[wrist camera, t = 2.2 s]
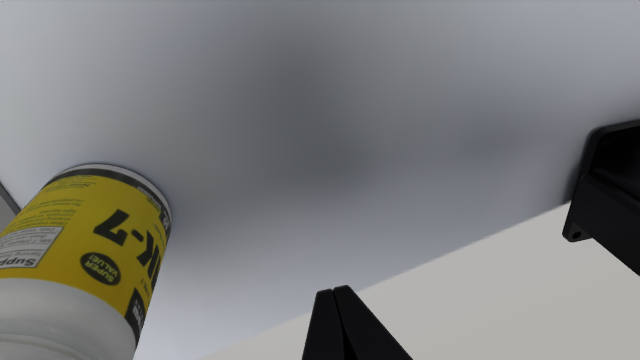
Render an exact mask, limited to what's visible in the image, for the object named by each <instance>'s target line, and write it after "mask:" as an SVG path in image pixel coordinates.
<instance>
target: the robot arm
mask: <svg viewBox="0 0 640 360" xmlns="http://www.w3.org/2000/svg"><path fill="white" fill-rule="evenodd" d="M562 235H563V237H564V238H565V239H567V240H568V241H569V242H577V241H582V240H586V239H590V238H593V239H595V240H596V241H597V242H598V243H600V244H601V245H602V246H603V247H604V248H606V249H607V250H608V251H609V252H610V253H612V254H613V255H614V256H615V257H617V258H618V259H619V260H620V261H621V262H623V263H624V264H625V265H626V266H627V267H629V268H630V269H631V270H632V271H633V272H635V273H636V274H637V275H638V276H640V120H639V121H634V122H629V123H625V124H620V125H615V126H610V127H606V128H602V129H599V130H598V131H596V132H595V133H594V134H593V135H592V137H591V139H590V141H589V144H588V148H587V151H586V154H585V158H584V161H583V164H582V168H581V171H580V175H579V178H578V181H577V185H576V188H575V191H574V195H573V198H572V201H571V205H570V208H569V211H568V215H567V218H566V222H565V225H564V228H563V232H562ZM302 360H413V359H412V358H411V357H410V356H409V354H408V353H407V352H406V351H405V350H404V349H403V348H402V346H401V345H400V344H399V343H398V342H397V341H396V339H395V338H394V337H393V336H392V335H391V334H390V333H389V331H388V330H387V329H386V328H385V327H384V326H383V324H382V323H381V322H380V321H379V320H378V319H377V318H376V316H375V315H374V314H373V313H372V312H371V311H370V310H369V308H367V306H366V305H365V304H364V303H363V301H362V300H361V299H360V298H359V297H358V296H357V294H356V293H355V292H354V291H353V290H352V289H351V288H350V287H349V286H348V285H343V286H339V287H335V288H334V289H333V290H332V289H326V290H321V291H318V292H317V294H316V297H315V302H314V306H313V311H312V316H311V320H310V324H309V329H308V333H307V338H306V342H305V347H304V351H303V356H302Z"/></svg>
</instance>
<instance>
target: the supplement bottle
mask: <svg viewBox="0 0 640 360" xmlns="http://www.w3.org/2000/svg"><path fill="white" fill-rule="evenodd" d="M171 226H172V217H171V212H170V209H169V206H168V204H167V202H166V200H165V198H164V197H163V196H162V194H161V193H160V192H159V191H158V190H157V189H156V188H155V187H154V186H153V185H152V184H151V183H150V182H149V181H147V180H146V179H144V178H143V177H142V176H140V175H138V174H136V173H134V172H132V171H129V170H127V169H124V168H120V167H116V166H111V165H103V164H91V165H82V166H78V167H74V168H71V169H68V170H66V171H63V172H61V173H59V174H58V175H56V176H55V177H53V178H52V179H51V180H50V181H49V182H48V183H46V185H45V186H44V187H43V188H42V189H41V190H40V191H39V192H38V194H37V195H36V196H35V197H34V198H33V199H32V200H31V201H30V202H29V203H28V204H27V205H26V206H25V207H24V208H23V209H22V211H21V212H20V213H19V214H18V215H17V216H16V217H15V218H14V219H13V220H12V222H11V223H10V224H9V225H8V226H7V227H6V228H5V229H4V230H3V231H2V232H1V234H0V360H132V359H133V357H134V354H135V351H136V348H137V345H138V342H139V338H140V334H141V330H142V328H143V325H144V321H145V318H146V314H147V311H148V307H149V304H150V301H151V297H152V294H153V291H154V287H155V284H156V281H157V277H158V273H159V270H160V266H161V263H162V259H163V256H164V252H165V249H166V246H167V242H168V239H169V235H170V231H171Z"/></svg>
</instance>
